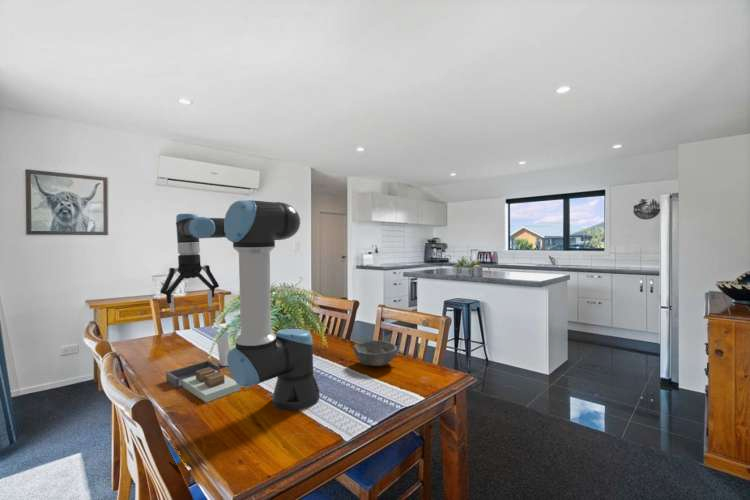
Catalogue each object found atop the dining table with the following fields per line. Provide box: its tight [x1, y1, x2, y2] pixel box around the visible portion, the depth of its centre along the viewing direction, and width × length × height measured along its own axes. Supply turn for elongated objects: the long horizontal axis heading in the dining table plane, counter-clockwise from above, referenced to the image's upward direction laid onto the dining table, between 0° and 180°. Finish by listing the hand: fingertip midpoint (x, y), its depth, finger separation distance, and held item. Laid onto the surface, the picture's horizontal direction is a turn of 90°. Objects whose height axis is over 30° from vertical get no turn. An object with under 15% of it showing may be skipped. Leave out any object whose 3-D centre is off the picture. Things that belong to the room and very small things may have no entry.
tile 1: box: [196, 367, 215, 383], centre depth 130 cm, size 5×5×3 cm
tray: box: [165, 359, 221, 389], centre depth 138 cm, size 10×16×4 cm, turn 139°
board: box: [181, 370, 241, 403], centre depth 128 cm, size 20×12×2 cm, turn 49°
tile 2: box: [204, 371, 225, 388], centre depth 126 cm, size 5×5×3 cm
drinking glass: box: [216, 328, 230, 367], centre depth 151 cm, size 7×7×15 cm
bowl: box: [353, 340, 398, 367], centre depth 147 cm, size 18×18×8 cm
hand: (191, 308), depth 137 cm, fingers open, 13 cm apart
